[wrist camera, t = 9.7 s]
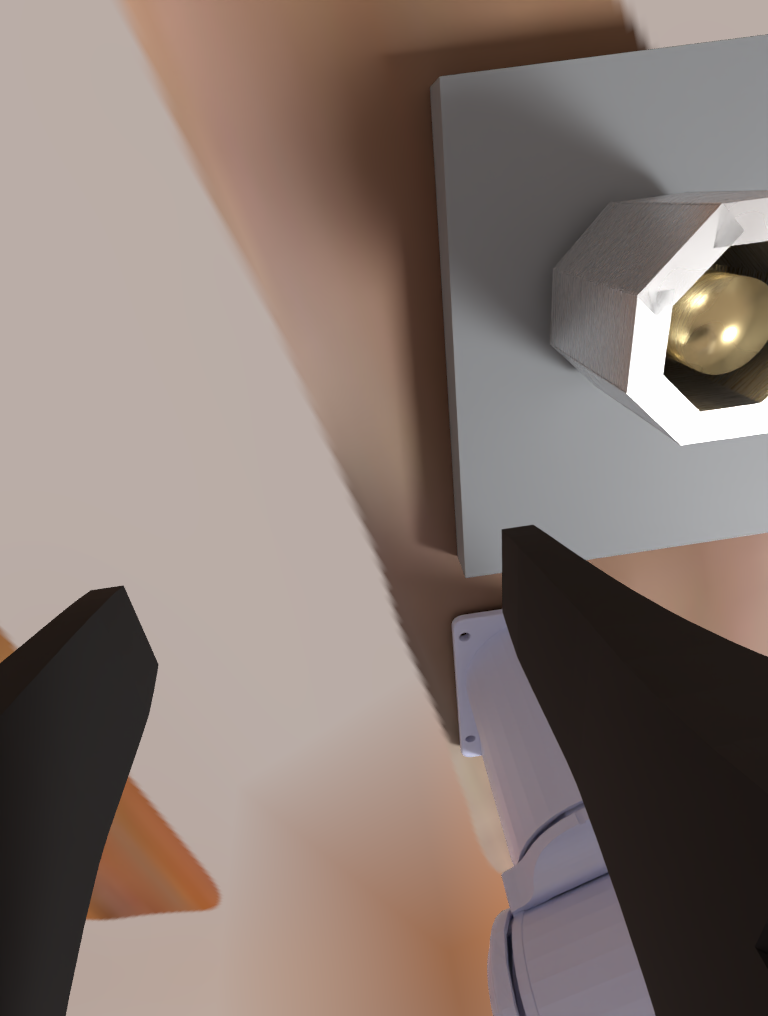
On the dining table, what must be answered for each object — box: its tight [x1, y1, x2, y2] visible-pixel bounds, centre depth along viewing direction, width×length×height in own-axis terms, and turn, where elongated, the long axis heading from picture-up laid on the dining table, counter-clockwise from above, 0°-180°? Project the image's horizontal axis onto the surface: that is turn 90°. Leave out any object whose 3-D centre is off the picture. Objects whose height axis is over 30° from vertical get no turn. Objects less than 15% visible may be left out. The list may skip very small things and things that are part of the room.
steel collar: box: [550, 190, 768, 445], centre depth 14 cm, size 5×5×5 cm
